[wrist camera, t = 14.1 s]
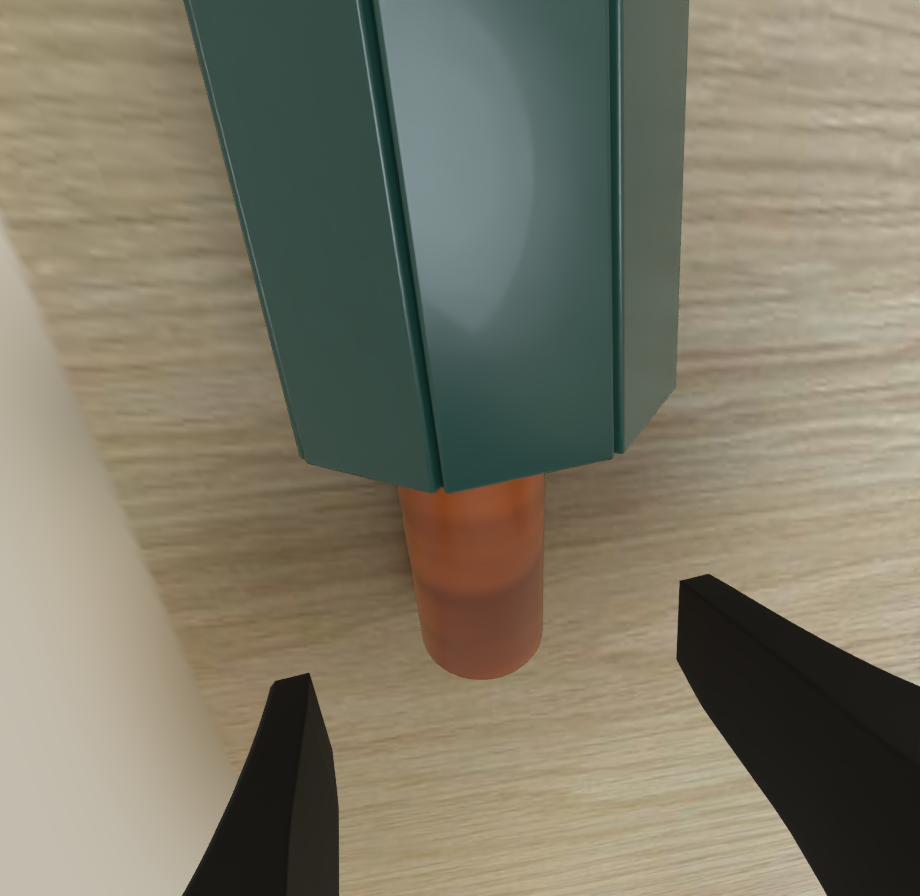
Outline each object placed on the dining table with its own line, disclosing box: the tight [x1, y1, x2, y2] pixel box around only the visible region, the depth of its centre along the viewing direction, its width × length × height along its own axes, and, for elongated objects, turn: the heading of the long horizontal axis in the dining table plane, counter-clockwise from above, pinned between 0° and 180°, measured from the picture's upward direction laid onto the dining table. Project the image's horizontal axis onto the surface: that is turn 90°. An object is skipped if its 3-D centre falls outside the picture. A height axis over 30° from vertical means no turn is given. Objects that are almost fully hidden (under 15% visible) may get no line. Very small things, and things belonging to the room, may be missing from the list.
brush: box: [397, 474, 545, 680], centre depth 11 cm, size 15×3×3 cm, turn 7°
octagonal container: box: [183, 0, 689, 494], centre depth 9 cm, size 10×5×7 cm, turn 7°
